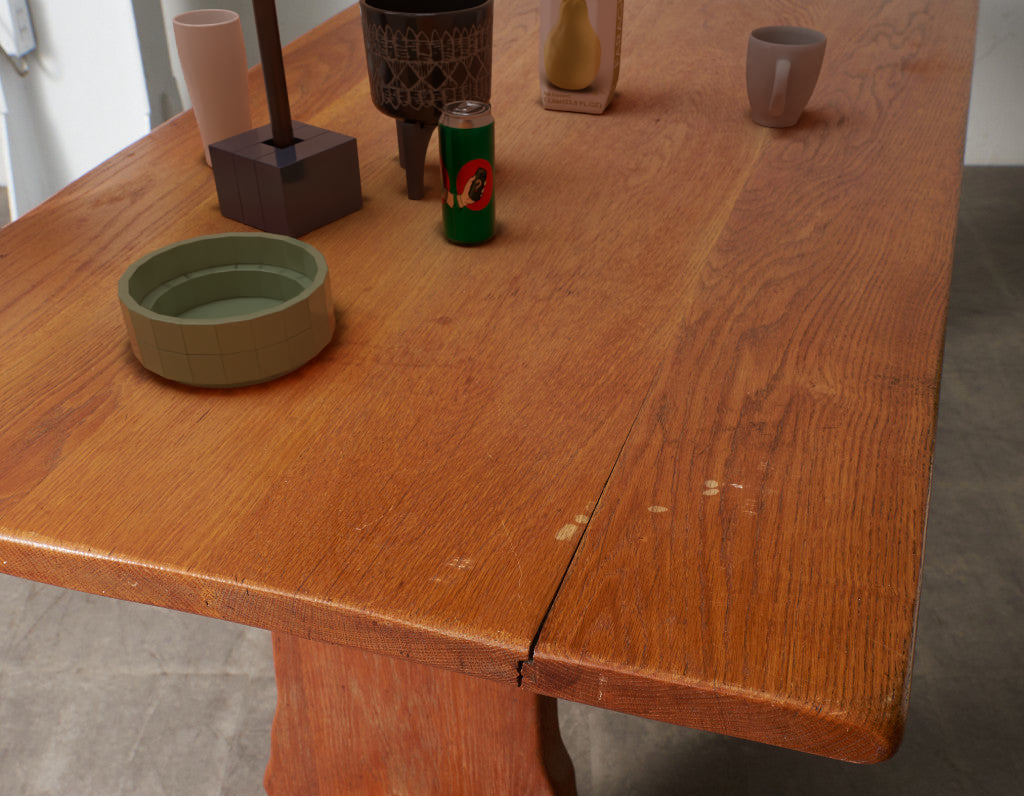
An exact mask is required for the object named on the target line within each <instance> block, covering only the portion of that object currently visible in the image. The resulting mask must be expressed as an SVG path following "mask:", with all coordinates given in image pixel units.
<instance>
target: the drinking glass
mask: <svg viewBox="0 0 1024 796" xmlns="http://www.w3.org/2000/svg"><path fill="white" fill-rule="evenodd" d="M241 23H242V22H241V19H240V15H239V13H237V12H235V11H233V10H229V9H220V8H218V9H217V8H210V9H208V8H206V9H196V10H189V11H185V12H181V13H178V14H177V15H175V16H174V17H173V18H172V25H173V26H172V27H173V33H174V40H175V45H176V50H177V55H178V59H179V63H180V68H181V71H182V75H183V79H184V82H185V86H186V89H187V93H188V96H189V100H190V103H191V107H192V110H193V114H194V117H195V121H196V124H197V128H198V132H199V136H200V139H201V144H202V147H203V152H204V158H205V162H206V163H207V165H208V166H209V167H210V168H211V169H212V164H211V158H210V153H209V148H208V145H210V144H213V143H215V142H218V141H221V140H224V139H227V138H230V137H232V136H235V135H238V134H241V133H244V132H247V131H249V130H252V129H253V123H252V110H251V109H252V108H251V98H250V96H251V95H250V84H249V83H250V82H249V69H248V59H247V58H248V57H247V50H246V45H245V38H244V32H243V27H242V24H241Z"/></svg>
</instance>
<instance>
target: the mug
mask: <svg viewBox="0 0 1024 796" xmlns="http://www.w3.org/2000/svg"><path fill="white" fill-rule="evenodd" d="M827 41H828V38H827V36H826V34H825V33H823V32H821V31H820V30H817V29H813V28H810V27H809V28H808V27H803V26H797V25H767V26H761V27H757V28H755V29H753V30H752V31H751V32H750V33H749V36H748V41H747V42H748V43H747V50H746V61H745V62H746V63H745V83H746V92H747V93H746V94H747V98H748V99H747V100H748V103H749V106H750V109H751V116H752V121H753V123H755V124H758V125H760V126H763V127H767V128H789V127H793V126H795V125H797V123H798V121H799V119H800V117H801V115H802V113H803V111H804V110H805V108H806V107H807V105H808V103H809V101H810V100H811V97H812V95H813V93H814V91H815V88H816V86H817V83H818V81H819V77H820V74H821V71H822V66H823V62H824V59H825V54H826V49H827V44H828V43H827Z"/></svg>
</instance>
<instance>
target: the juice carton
mask: <svg viewBox="0 0 1024 796" xmlns="http://www.w3.org/2000/svg"><path fill="white" fill-rule="evenodd" d="M624 10H625V0H539V34H538V35H539V43H538V44H539V45H538V47H539V48H538V49H539V50H538V81H539V89H540V95H541V101H542V106H543V108H544V109H546V110H552V111H553V110H554V111H562V112H563V111H564V112H573V113H574V112H575V113H583V114H593V115H601V114H603V112H604V111H605V110H606V108H607V107H608V106H609V105H610V104H611V102H612V100H613V98H614V96H615V93H616V90H617V86H618V82H619V78H620V70H621V60H622V59H621V58H622V57H621V56H622V43H623V42H622V41H623V26H624Z"/></svg>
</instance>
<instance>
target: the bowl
mask: <svg viewBox="0 0 1024 796" xmlns="http://www.w3.org/2000/svg"><path fill="white" fill-rule="evenodd" d="M117 298H118V302H119V305H120V310H121V313H122V316H123V320H124V323H125V327H126V331H127V334H128V338H129V342H130V346H131V349H132V353H133V355H134V356H135V358H136V359H137V360H138V362H139V363H140V364H141V365H142V366H143V368H144V369H146V370H148V371H150V372H152V373H154V374H156V375H158V376H160V377H162V378H164V379H167V380H171V381H174V382H176V383H179V384H182V385H186V386H191V387H195V388H196V387H197V388H203V389H204V388H205V389H234V388H242V387H243V388H244V387H248V386H255V385H259V384H264V383H267V382H271V381H273V380H276V379H277V380H278V378H282V377H284V376H286V375H289V374H290V373H293V372H295V371H296V370H299V368H301V367H303V366H304V365H306V364H307V363H308V362H309V361H311V360H312V359H313V358H315V357H317V356H318V355H319V354H320V352H321V351H322V350H323V349H325V347H326V346H328V344H329V343H330V342H331V341H332V338H333V335H334V332H335V329H336V324H337V323H336V317H335V308H334V300H333V292H332V284H331V276H330V269H329V266H328V263H327V260H326V257H325V255H324V254H323V253H322V252H321V251H320V250H318V248H316V247H314V245H312V244H310V243H308V242H306V241H303V240H299V239H297V238H295V239H294V238H292V237H288V236H284V235H277V234H271V233H269V232H265V231H263V232H262V231H229V232H219V233H211V234H203V235H198V236H195V237H190V238H186V239H182V240H179V241H174V242H172V243H169V244H167V245H165V246H162V247H160V248H157V249H155V250H153V251H150V252H147V253H145V254H144V255H143V256H141V257H140V258H138V259H137V260H136V261H134V262H132V263H131V264H130V265H128V266H127V268H126V269H125V271H124V272H123V273H122V275H121V276H120V277H119V278H118V281H117Z"/></svg>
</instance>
